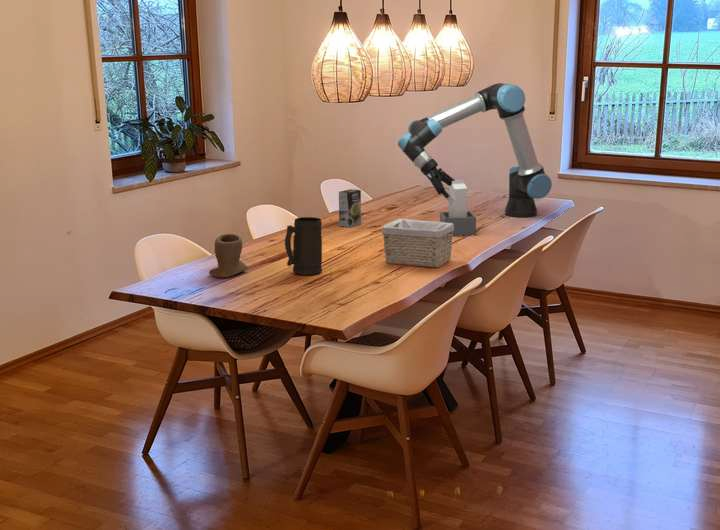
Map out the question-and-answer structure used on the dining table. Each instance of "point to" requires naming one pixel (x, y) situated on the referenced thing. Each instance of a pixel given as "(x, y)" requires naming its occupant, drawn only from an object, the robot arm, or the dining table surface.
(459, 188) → the milk
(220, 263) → the stone cup
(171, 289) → the dining table surface
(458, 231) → the tray
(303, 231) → the beer stein
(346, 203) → the coffee box
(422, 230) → the storage basket
